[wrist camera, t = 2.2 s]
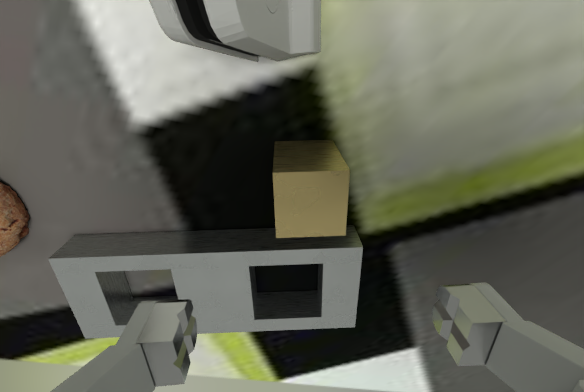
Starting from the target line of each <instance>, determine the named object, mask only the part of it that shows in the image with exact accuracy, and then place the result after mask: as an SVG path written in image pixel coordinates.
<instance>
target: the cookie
mask: <svg viewBox="0 0 584 392" xmlns="http://www.w3.org/2000/svg"><path fill="white" fill-rule="evenodd" d="M28 220H29V214H28V211H26V210H25V207H24V204H23V203H22V202H21V200H20V198H18V197H17V194H16V192H14V191H13V190H12V189H11V188H10V186H7V185H4V184H2V183H1V182H0V257H1V256H3V255H5V254H6V253H7V252H9V251H10V250H12V249H13V248H14V247H15V246H16V245H17V244H18V243H19V241H20V239H21V238H23V237H24V236H26V235H27V234H28V233H29V228H28V227H27V226H28V223H27V222H28Z"/></svg>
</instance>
